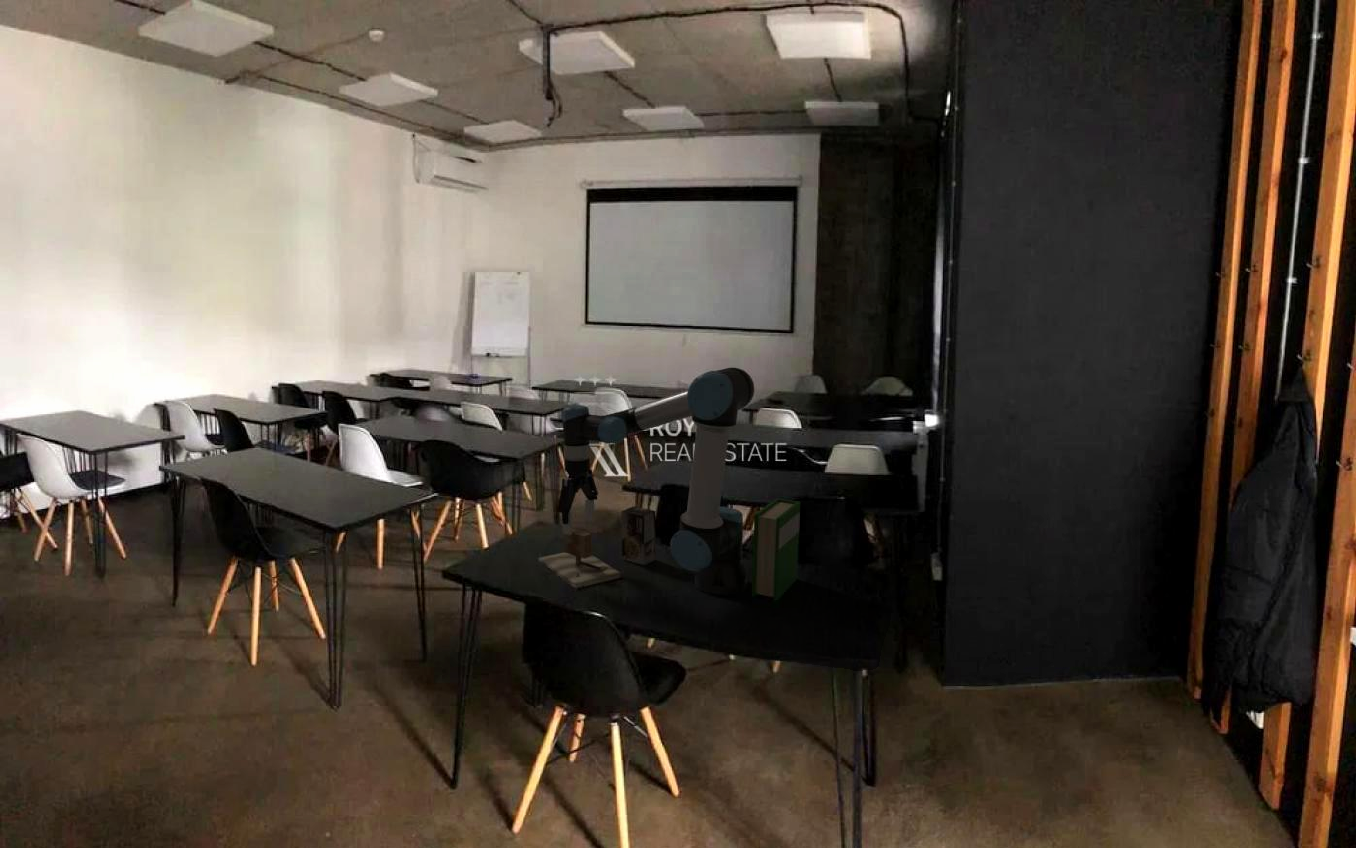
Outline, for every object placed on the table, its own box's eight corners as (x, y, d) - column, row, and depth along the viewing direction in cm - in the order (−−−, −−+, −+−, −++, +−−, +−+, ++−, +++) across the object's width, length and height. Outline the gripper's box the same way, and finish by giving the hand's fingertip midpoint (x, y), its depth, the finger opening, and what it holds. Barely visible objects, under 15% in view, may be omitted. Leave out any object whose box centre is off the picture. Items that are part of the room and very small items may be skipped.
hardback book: (776, 601, 213) (779, 518, 209) (751, 595, 217) (754, 514, 212) (796, 579, 229) (800, 501, 224) (773, 574, 232) (776, 498, 227)
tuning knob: (565, 562, 234) (564, 530, 232) (572, 559, 237) (571, 528, 235) (596, 572, 227) (595, 539, 225) (602, 569, 230) (602, 536, 228)
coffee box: (656, 559, 243) (656, 510, 240) (644, 565, 238) (644, 515, 234) (632, 553, 248) (633, 505, 245) (620, 559, 242) (620, 510, 239)
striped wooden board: (620, 577, 228) (620, 571, 228) (575, 588, 220) (575, 582, 219) (581, 553, 248) (581, 547, 247) (538, 562, 239) (538, 557, 239)
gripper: (586, 448, 240) (588, 513, 243) (543, 466, 217) (545, 538, 221) (608, 450, 237) (609, 516, 241) (566, 468, 214) (568, 541, 218)
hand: (578, 527), depth 231 cm, fingers open, 13 cm apart
